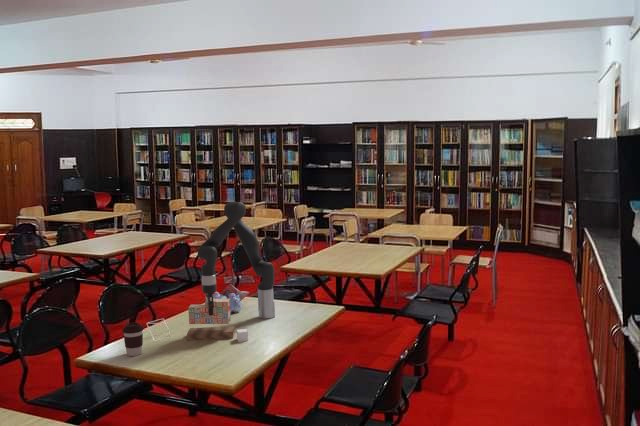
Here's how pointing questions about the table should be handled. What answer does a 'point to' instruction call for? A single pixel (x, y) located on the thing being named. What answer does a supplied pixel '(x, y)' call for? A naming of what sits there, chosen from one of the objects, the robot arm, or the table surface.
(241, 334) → the pale grey cube
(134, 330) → the coffee cup
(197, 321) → the stack of blocks
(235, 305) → the lumpy periwinkle toy figure
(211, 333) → the walnut plinth
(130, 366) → the table surface
